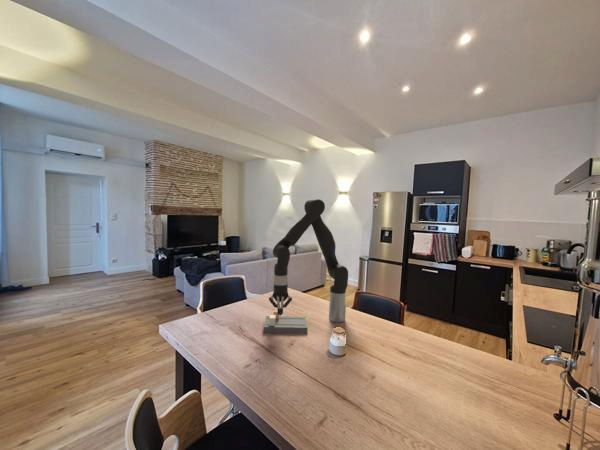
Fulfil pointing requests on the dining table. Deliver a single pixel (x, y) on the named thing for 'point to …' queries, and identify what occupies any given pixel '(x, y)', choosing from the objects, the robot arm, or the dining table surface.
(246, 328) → the dining table surface
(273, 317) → the cream fader
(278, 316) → the terracotta fader
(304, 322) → the fader console
